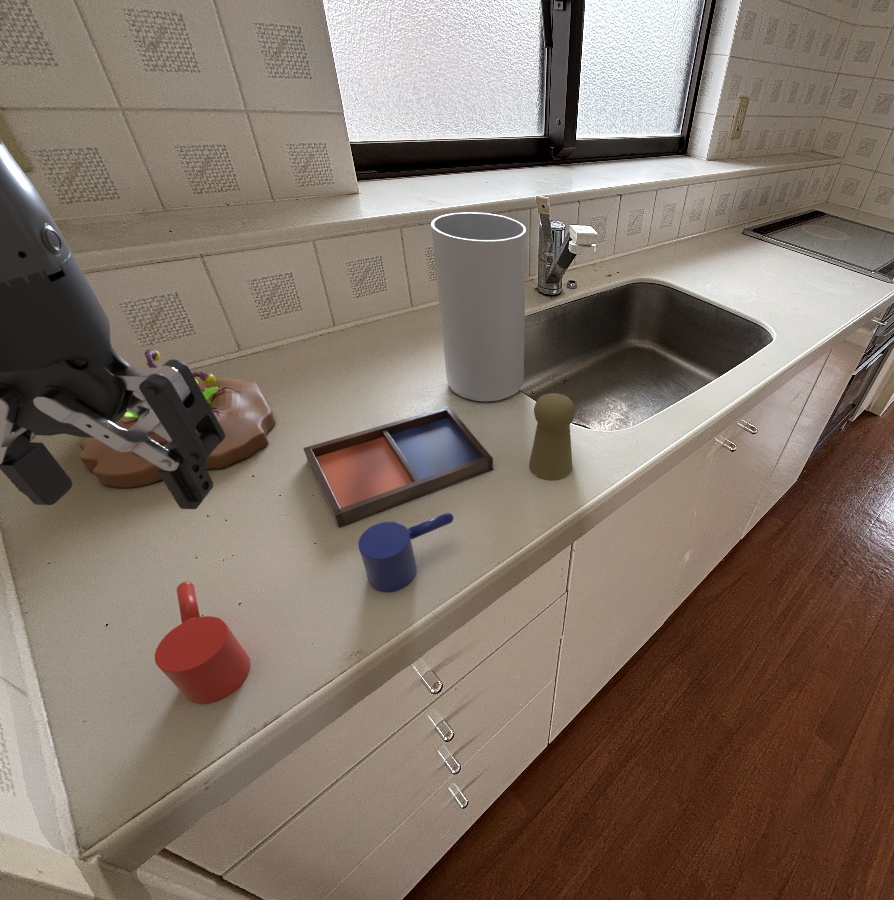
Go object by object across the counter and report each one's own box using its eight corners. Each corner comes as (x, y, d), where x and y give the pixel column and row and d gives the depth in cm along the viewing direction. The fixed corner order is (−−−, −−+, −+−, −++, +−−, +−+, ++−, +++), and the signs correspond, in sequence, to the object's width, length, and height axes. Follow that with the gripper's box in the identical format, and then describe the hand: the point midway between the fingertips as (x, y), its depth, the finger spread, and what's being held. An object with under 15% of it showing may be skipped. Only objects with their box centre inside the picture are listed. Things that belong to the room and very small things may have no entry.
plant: (271, 380, 77) (246, 312, 70) (280, 457, 64) (251, 384, 57) (102, 406, 68) (54, 331, 61) (75, 501, 55) (10, 420, 48)
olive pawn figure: (545, 486, 66) (549, 419, 59) (520, 460, 69) (521, 394, 62) (581, 469, 69) (588, 404, 62) (555, 446, 72) (560, 382, 65)
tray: (338, 527, 57) (334, 515, 55) (307, 460, 64) (303, 447, 63) (493, 469, 67) (492, 457, 66) (450, 417, 75) (448, 406, 73)
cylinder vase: (522, 364, 89) (524, 216, 73) (525, 403, 80) (527, 244, 64) (450, 362, 87) (435, 209, 71) (444, 403, 77) (426, 237, 61)
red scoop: (255, 682, 43) (232, 650, 40) (187, 715, 40) (157, 684, 37) (235, 601, 48) (213, 567, 45) (174, 626, 46) (146, 591, 42)
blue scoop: (377, 600, 50) (367, 566, 47) (362, 567, 53) (351, 533, 50) (465, 559, 55) (462, 526, 52) (447, 531, 58) (443, 498, 55)
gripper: (-341, 268, 19) (-45, 539, 30) (68, 298, 21) (213, 544, 31) (-135, 215, 25) (53, 457, 35) (173, 242, 27) (267, 465, 37)
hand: (128, 498), depth 33 cm, fingers open, 8 cm apart
